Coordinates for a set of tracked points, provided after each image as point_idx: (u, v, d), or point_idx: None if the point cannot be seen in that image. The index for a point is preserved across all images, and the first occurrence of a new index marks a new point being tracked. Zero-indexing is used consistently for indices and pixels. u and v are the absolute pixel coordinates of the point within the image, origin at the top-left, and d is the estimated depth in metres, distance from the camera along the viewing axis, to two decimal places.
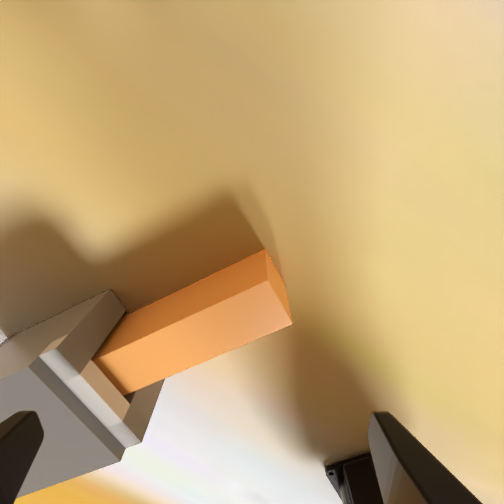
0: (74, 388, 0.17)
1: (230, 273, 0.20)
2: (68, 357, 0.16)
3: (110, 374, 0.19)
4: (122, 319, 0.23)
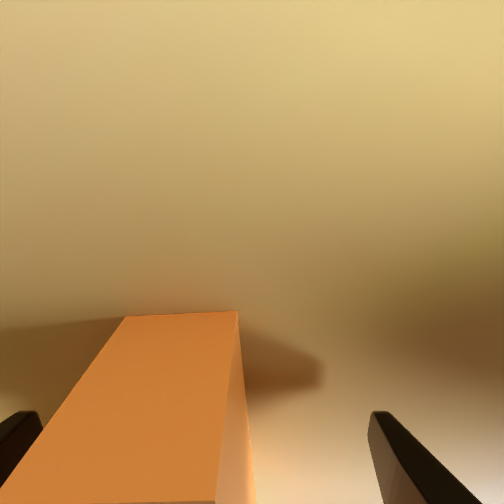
0: None
1: None
2: None
3: None
4: None
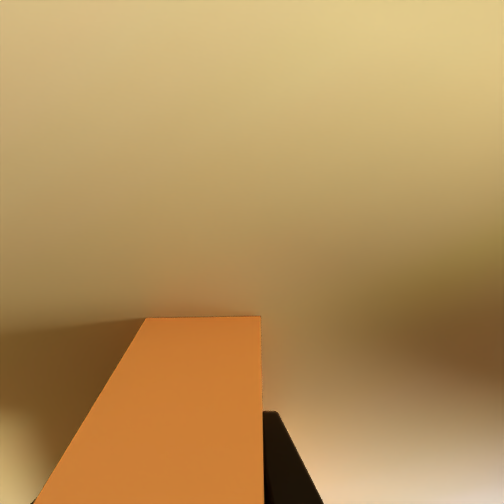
0: None
1: None
2: None
3: None
4: None
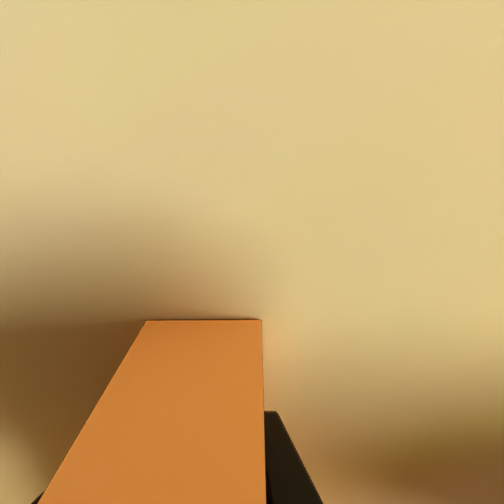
0: None
1: None
2: None
3: None
4: None
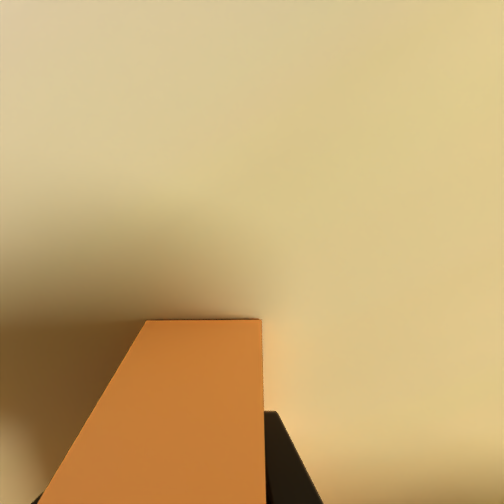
0: None
1: None
2: None
3: None
4: None
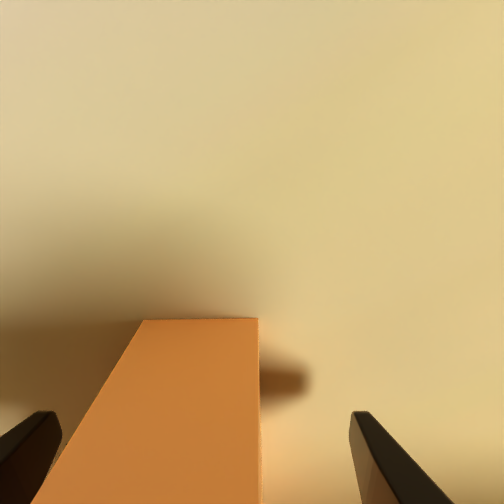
0: None
1: None
2: None
3: None
4: None
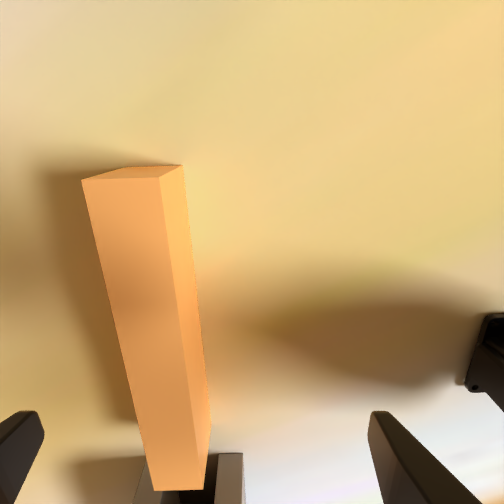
0: None
1: None
2: None
3: (156, 394, 0.17)
4: None
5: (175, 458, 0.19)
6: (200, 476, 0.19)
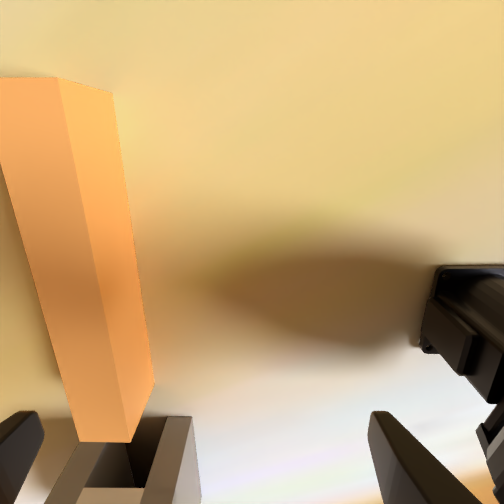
0: None
1: None
2: None
3: (73, 330, 0.16)
4: None
5: (99, 405, 0.18)
6: (126, 427, 0.18)
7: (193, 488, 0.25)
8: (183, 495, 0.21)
